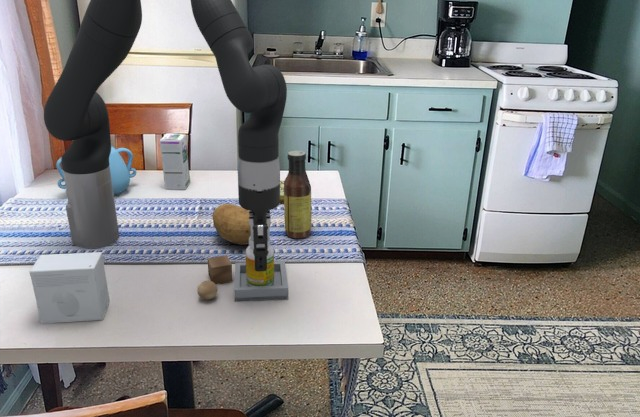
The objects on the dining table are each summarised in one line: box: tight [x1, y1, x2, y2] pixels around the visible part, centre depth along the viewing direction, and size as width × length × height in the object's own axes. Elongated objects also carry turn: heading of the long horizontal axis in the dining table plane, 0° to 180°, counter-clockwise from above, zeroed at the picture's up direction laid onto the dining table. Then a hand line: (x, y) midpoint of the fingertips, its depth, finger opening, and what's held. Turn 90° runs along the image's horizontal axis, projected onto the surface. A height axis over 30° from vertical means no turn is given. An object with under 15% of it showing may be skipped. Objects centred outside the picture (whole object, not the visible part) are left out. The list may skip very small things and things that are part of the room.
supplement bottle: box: [245, 236, 275, 287], centre depth 105 cm, size 5×5×10 cm
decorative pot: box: [55, 145, 137, 196], centre depth 144 cm, size 16×16×14 cm
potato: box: [211, 203, 251, 245], centre depth 122 cm, size 10×14×8 cm
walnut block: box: [207, 254, 233, 285], centre depth 108 cm, size 4×4×4 cm
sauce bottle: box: [283, 150, 312, 240], centre depth 124 cm, size 6×6×20 cm
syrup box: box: [159, 132, 191, 191], centre depth 149 cm, size 6×6×14 cm
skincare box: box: [29, 251, 111, 325], centre depth 95 cm, size 10×6×10 cm, turn 98°
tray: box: [233, 260, 289, 302], centre depth 106 cm, size 10×10×2 cm
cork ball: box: [197, 279, 218, 301], centre depth 102 cm, size 4×4×4 cm
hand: (260, 258), depth 104 cm, fingers open, 8 cm apart
